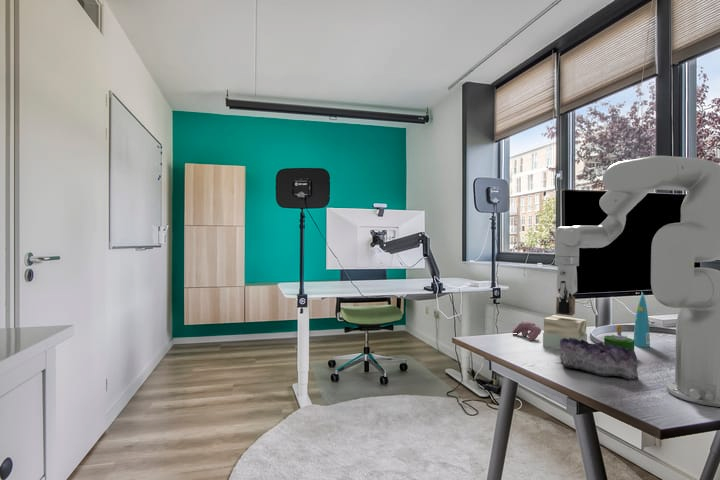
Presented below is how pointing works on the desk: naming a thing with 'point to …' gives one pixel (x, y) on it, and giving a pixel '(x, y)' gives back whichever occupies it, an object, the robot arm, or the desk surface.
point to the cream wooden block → (565, 326)
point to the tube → (642, 325)
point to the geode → (599, 358)
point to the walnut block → (571, 306)
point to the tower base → (557, 340)
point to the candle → (619, 339)
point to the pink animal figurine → (524, 329)
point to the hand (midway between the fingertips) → (565, 311)
